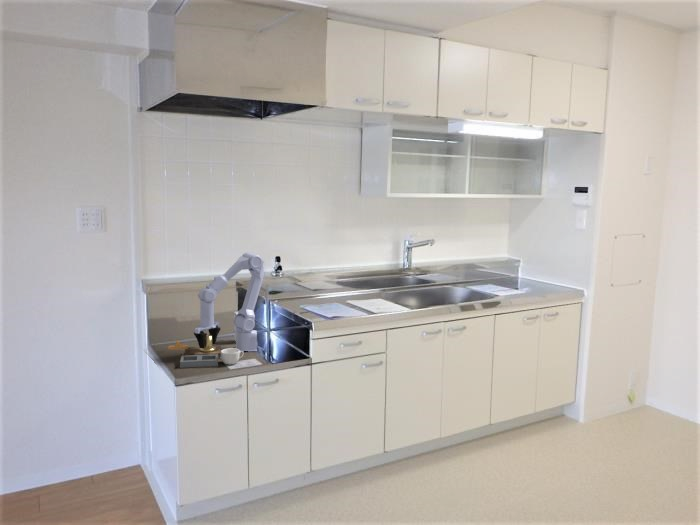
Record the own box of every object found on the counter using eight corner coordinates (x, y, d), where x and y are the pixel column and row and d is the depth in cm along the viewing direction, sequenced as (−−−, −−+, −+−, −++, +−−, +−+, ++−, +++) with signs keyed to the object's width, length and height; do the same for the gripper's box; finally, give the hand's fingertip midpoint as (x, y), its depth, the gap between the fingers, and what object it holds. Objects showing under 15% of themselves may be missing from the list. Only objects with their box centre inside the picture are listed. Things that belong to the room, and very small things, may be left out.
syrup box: (236, 343, 271) (236, 313, 269) (233, 340, 277) (233, 311, 275) (248, 342, 274) (248, 313, 271) (245, 339, 279) (245, 310, 277)
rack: (218, 359, 247) (218, 354, 247) (217, 366, 239) (217, 360, 238) (181, 361, 244) (181, 355, 243) (180, 367, 236) (180, 361, 235)
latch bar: (187, 347, 251) (187, 340, 251) (187, 348, 249) (187, 341, 249) (168, 347, 250) (168, 341, 249) (168, 349, 247) (168, 342, 247)
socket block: (220, 351, 259) (220, 343, 258) (220, 358, 248) (220, 350, 248) (186, 352, 256) (185, 344, 255) (184, 360, 245) (184, 352, 245)
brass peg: (216, 352, 257) (215, 333, 255) (215, 357, 250) (215, 337, 249) (199, 353, 255) (199, 333, 254) (199, 358, 248) (198, 338, 247)
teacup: (225, 367, 238) (225, 354, 237) (217, 362, 244) (217, 349, 243) (247, 363, 244) (247, 350, 243) (239, 358, 250) (239, 346, 249)
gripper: (204, 320, 242) (204, 351, 244) (224, 313, 255) (225, 342, 257) (190, 318, 245) (191, 349, 247) (211, 311, 258) (212, 340, 260)
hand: (207, 345), depth 252 cm, fingers open, 7 cm apart
